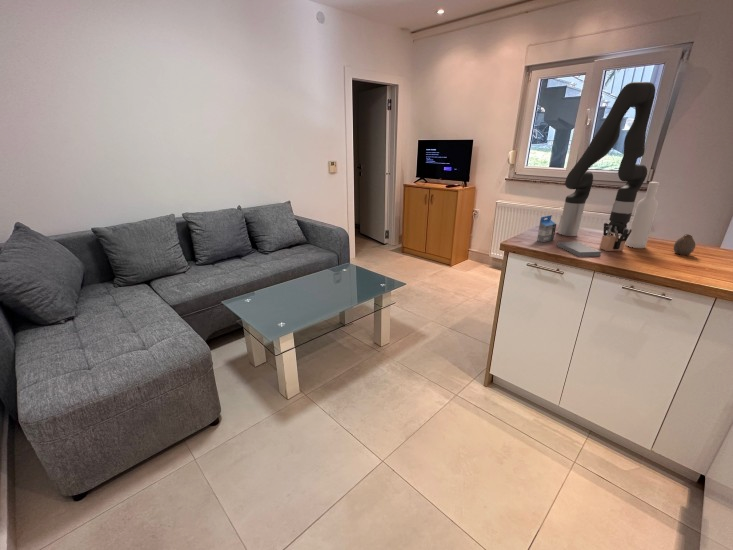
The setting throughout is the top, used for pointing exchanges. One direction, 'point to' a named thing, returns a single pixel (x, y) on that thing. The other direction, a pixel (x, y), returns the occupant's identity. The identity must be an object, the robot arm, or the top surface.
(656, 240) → the top surface
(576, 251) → the board
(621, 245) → the tan rectangular block
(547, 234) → the label tape box
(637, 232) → the bottle
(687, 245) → the grey pear shaped lump
